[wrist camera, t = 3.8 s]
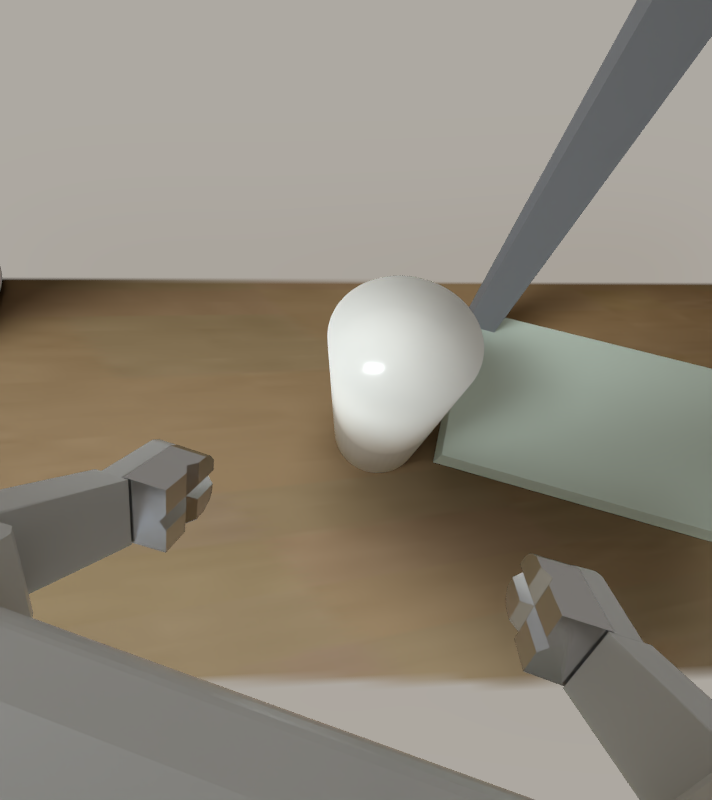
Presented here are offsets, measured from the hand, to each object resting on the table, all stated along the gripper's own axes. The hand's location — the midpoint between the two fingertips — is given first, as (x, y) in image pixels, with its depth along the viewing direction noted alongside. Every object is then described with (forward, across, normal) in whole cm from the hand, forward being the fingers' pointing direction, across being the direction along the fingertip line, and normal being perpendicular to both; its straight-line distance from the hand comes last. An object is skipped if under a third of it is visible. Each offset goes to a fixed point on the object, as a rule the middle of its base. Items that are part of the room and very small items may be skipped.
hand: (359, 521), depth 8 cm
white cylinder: (+13, 0, +4) cm, 13 cm away
